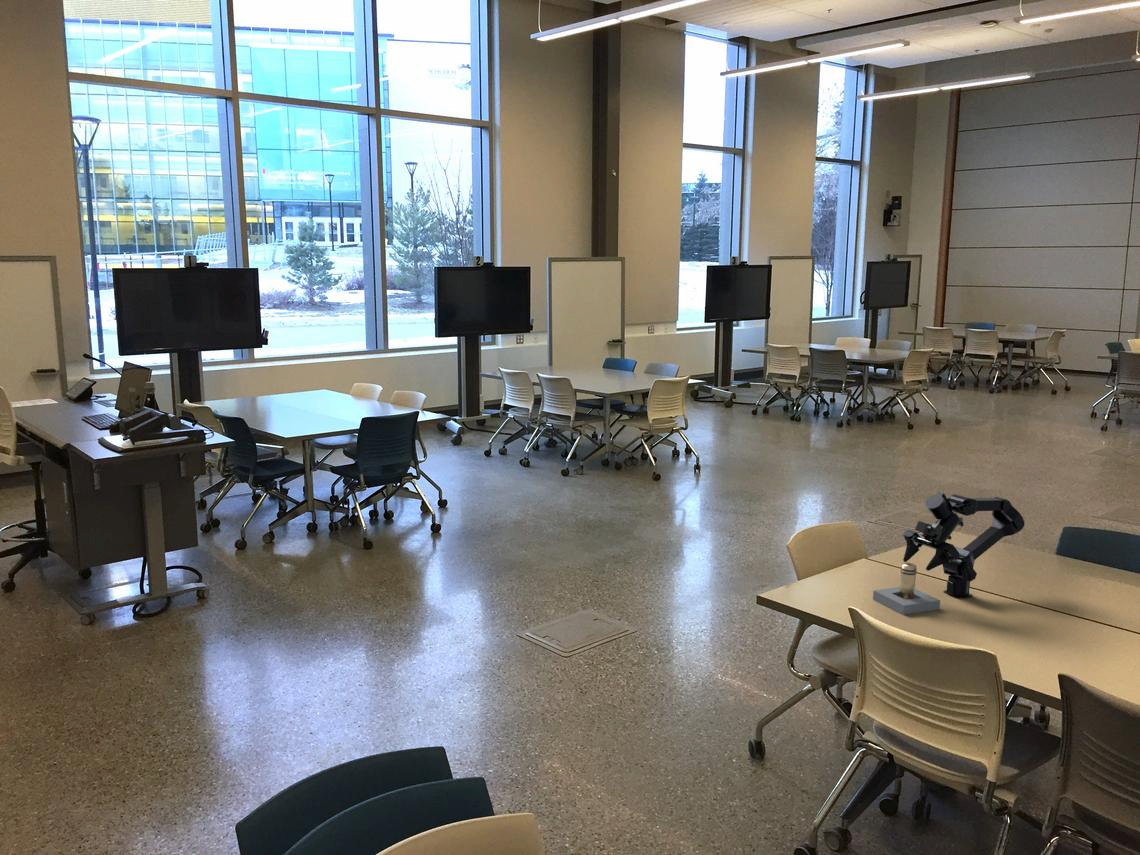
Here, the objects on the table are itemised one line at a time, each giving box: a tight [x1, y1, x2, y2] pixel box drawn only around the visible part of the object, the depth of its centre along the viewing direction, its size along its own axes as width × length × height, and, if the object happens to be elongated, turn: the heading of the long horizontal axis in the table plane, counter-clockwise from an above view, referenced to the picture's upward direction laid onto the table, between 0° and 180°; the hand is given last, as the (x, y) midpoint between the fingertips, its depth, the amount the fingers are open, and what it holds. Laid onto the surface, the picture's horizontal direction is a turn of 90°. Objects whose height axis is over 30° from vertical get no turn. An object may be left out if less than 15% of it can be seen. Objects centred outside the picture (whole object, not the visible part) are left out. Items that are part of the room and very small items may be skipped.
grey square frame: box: [872, 586, 941, 616], centre depth 279 cm, size 14×14×3 cm
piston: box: [899, 562, 918, 600], centre depth 278 cm, size 5×5×13 cm
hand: (915, 565), depth 279 cm, fingers open, 9 cm apart
